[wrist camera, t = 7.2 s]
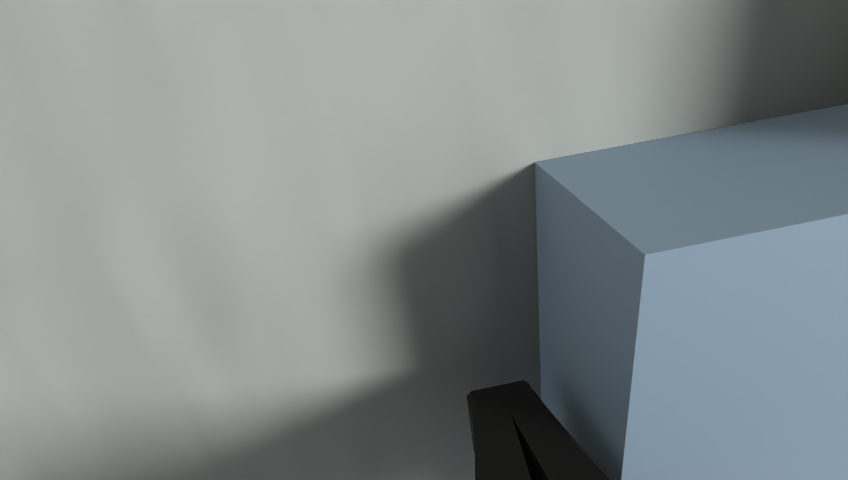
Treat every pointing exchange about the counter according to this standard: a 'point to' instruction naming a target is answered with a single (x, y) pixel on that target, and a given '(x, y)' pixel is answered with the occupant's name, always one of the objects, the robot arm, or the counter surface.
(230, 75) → the counter surface
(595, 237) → the block
